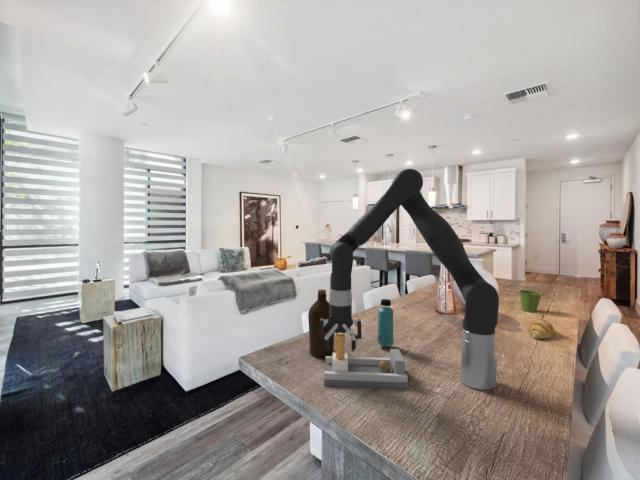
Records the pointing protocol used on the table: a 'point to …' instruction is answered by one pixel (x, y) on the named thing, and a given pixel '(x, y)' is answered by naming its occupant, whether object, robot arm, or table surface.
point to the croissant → (540, 329)
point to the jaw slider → (340, 355)
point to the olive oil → (315, 314)
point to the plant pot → (529, 300)
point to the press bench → (368, 372)
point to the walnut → (384, 366)
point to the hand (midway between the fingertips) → (340, 350)
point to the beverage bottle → (385, 324)
